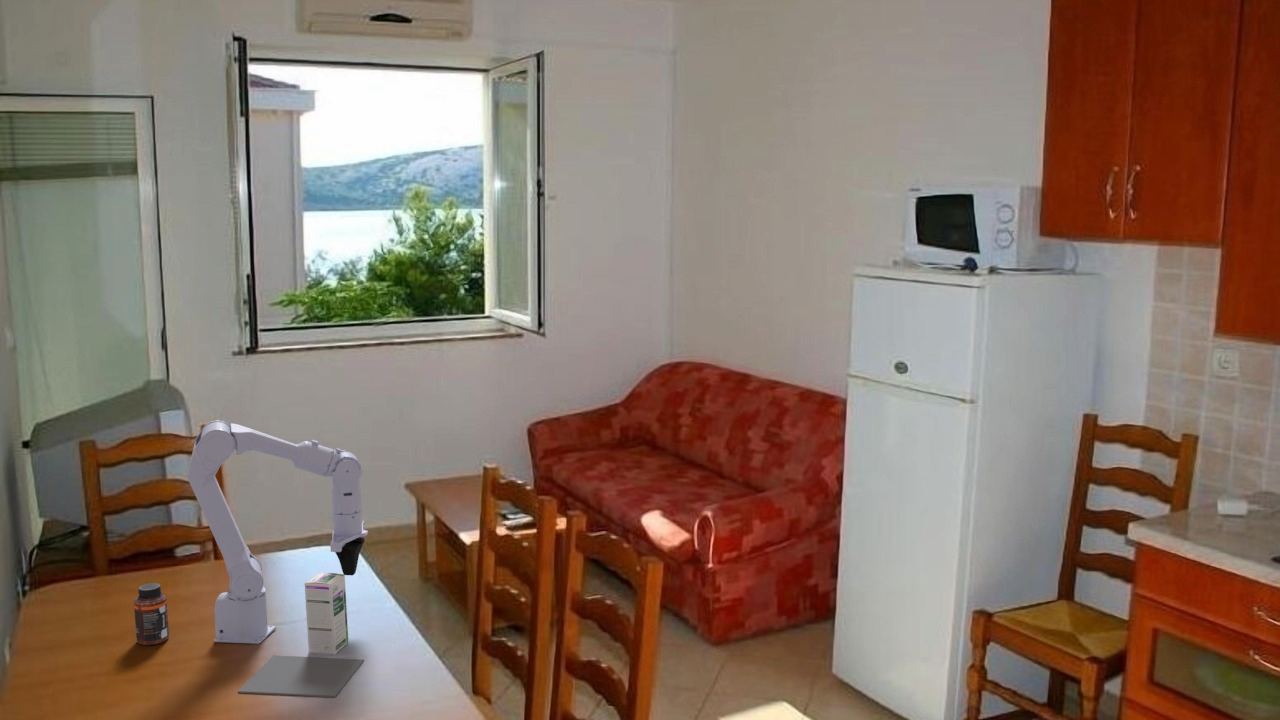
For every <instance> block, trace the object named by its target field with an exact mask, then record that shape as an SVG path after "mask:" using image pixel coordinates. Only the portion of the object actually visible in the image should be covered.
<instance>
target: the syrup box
mask: <svg viewBox="0 0 1280 720" xmlns="http://www.w3.org/2000/svg"><path fill="white" fill-rule="evenodd" d="M346 591H347V590H346V575H344V574H343V573H337V572H336V573H335V572H319V573H317V575H315V576H314V577H312V578H310V579H309V580H307V581H306V582H304V593H305V594H304V595H305V596H304V597H305V598H304V599H305V611H306V626H307V645H308V652H309V653H312V654H313V653H314V654H320V653H323V654H322V655H332V654H333V655H336V654H337V653H338V652H339V651H340V650H342V649H343V648H344V647H345V646H346V645H347V644H348V643H349V629H348V628H349V627H348V626H349V625H348V612H347V610H348V608H347V594H346ZM333 655H332V656H333Z"/></svg>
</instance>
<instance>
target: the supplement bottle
mask: <svg viewBox="0 0 1280 720" xmlns="http://www.w3.org/2000/svg"><path fill="white" fill-rule="evenodd" d="M167 600H168V599H167V596H166V595H165V594H164V593H163V592H162V589H161V584H160V583H157V582H155V583H154V582H153V583H151V582H150V583H145V584H143V585H140V586H139V587H138V596H137V597H136V598H135V599H134V601H133V608H134V610H133V611H134V621H135V623H134V624H135V634H136V643H137V644H139V645H142V646H155V645H159V644H162V643H164V642H166V641H167V640H168V639H169V638H170V637H169V636H170V629H169V627H170V626H169V614H168V613H169V611H168V601H167Z"/></svg>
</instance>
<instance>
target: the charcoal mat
mask: <svg viewBox="0 0 1280 720" xmlns="http://www.w3.org/2000/svg"><path fill="white" fill-rule="evenodd" d="M364 662H365V659H364V658H340V657H323V656H321V657H319V656H296V655H275V654H273V655H272V656H271V657H270V658H269V659H268V660H267V661H266V662H265V663H264V664H263V665H262V666H261V667H260V668H259V669H258V670H257V671H256V672H255V673H254V674H253V675H252V676H251V677H250V678H249V679H248V681H246V682H245V683H244V684H243V685H242V686H241V687H240V688H239V689H238V691H237V693H238V694H255V695H259V694H260V695H278V696H296V697H297V696H298V697H299V696H301V697H317V698H318V697H319V698H323V697H324V698H336V697H338V695H339V693H341V691H342V690H343V689H344V687H345V686H346V685H347V684H348V682H349V681H350V679H352V677H353V676H354V674H355V673H356V672H357V670H358V669H359V668H360V667H361V666H362V664H363V663H364Z"/></svg>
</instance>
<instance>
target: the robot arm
mask: <svg viewBox="0 0 1280 720" xmlns="http://www.w3.org/2000/svg"><path fill="white" fill-rule="evenodd" d="M235 450H236V455H237V456H239V455H242V454H245V453H247V452H250V451H255V452H260V453H263V454H267V455H270V456H274V457H279V458H281V459H282V458H283V459H285V460H290V461H291V462H292V463H293V466H294V467H295V468H296V469H297V470H301V471H304V472H309V473H312V474H315V475H318V476H322V477H325V478H327V477H331V478H332V490H331V499H332V501H331V502H332V503H331V504H332V526H333V530H332V535H331V536H332V537H331V538H332V539H331V542H330V543H329V544H330V545H329V546H330V552H331V553H335V554H336V556H337V558H338V559H337V560H338V561H339V563H340V567H341V571H342V574H343V575H345V576H354V575H355V574H356V571H357V569H358V568H357V567H358V562H359V557H360V554H361V550H362V547H363V545H364V544H365V537H366V536H367V535H368V534H369V530H366V529H365V527H366V526H365V520H363V518H362V511H363V510H362V488H361V486H360V485H361V480H360V479H361V477H362V474H363V469H362V466H361V464H360V462H359V459H358V457H356V455H355V454H354V453H352V452H351V451H348V450H347V449H343V450H342V449H341V448H338V447H336V448H330V447H327V446H323V445H321V444H319V440H315V439H311V441H307V440H304V441H302V442H299V443H297V444H296V443H294V442H290V441H288V440H285V439H282V438H280V437H279V438H278V437H276V436H273V435H271V434H267V433H264V432H261V431H259V430H256V429H253V428H250V427H248V426H244V425H241V424H237V423H230V424H229V423H227V422H226V421H223V420H220V419H219V420H218V419H217V420H212V421H209V422H208V423H206V424H204V425H203V427H202V429H201V430H200V431H199V433H198V434H197V436H196V437H195V440H194V445H193V448H192V453H191V456H190V457H191V458H190V461H189V465H188V470H187V480H188V482H189V484H190V487H191V489H192V492H193V494H194V495H195V498H196V499H197V500H196V501H197V502H198V505H199V507H200V509H201V511H202V513H203V516H204V518H205V520H206V523H207V524H208V527H209V529H210V531H211V534H212V535H213V537H214V539H215V543H216V544H217V546H218V548H219V551H220V552H221V555H222V557H223V560H224V564H225V569H226V571H227V573H228V575H229V590H228V591H226V592H225V591H224V592H221V593H220V594H219V595H218V596H217V598H216V600H215V604H214V610H213V611H214V627H215V629H214V630H215V638H214V642H215V643H230V644H231V643H233V644H255V645H259V644H261V643H263V641H264V640H265V639H266V638H267V637H268V636H269V635H270V634H272V632H273V631H275V629H277V628H276V625H268V608H267V606H268V605H267V592H266V591H267V589H266V586H264V582H265V581H264V577H263V573H262V569H263V567H262V564H261V561H260V560H259V559H258V558H257V557H256V556H255V555H254V554H252V552H251V551H250V549H249V546H248V545H247V544H246V543H245V540H244V538H243V535H242V534H241V533H242V532H241V531H240V529H239V527H238V524H237V523H236V520H235V517H234V515H233V514H232V511H231V508H230V507H229V505H228V502H227V499H226V497H225V495H224V493H223V491H222V489H221V487H220V484H219V482H218V479H217V478H216V475H217V473H218V471H219V469H220V468H221V465H222V464H223V463H224V462H226V461H227V460H228V459H230V457H231V456H232V455H233V453H234V451H235Z"/></svg>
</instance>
